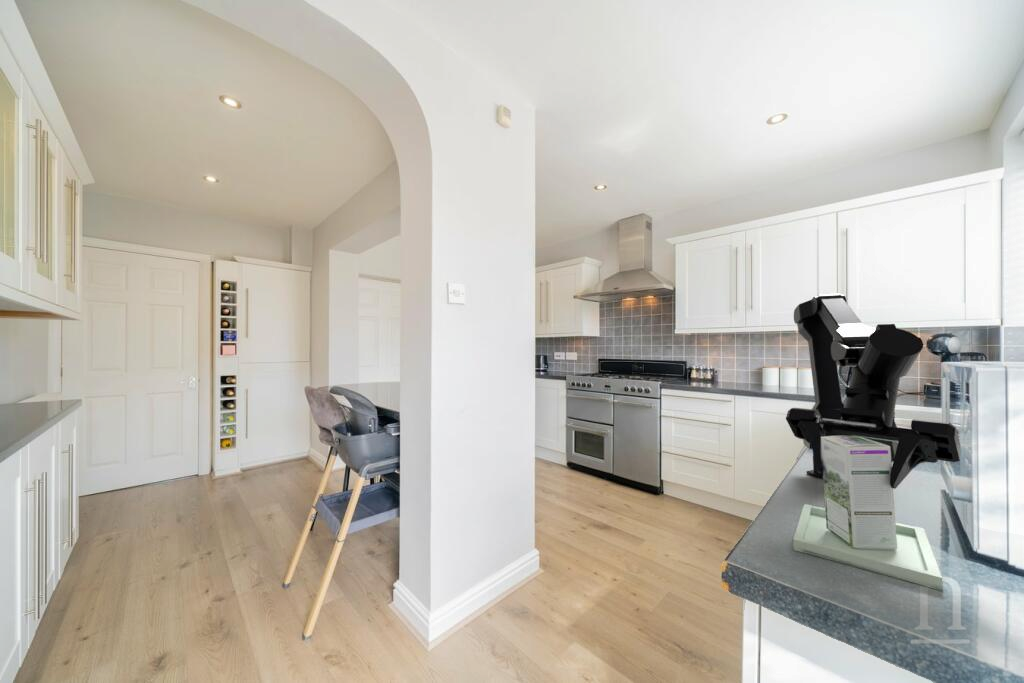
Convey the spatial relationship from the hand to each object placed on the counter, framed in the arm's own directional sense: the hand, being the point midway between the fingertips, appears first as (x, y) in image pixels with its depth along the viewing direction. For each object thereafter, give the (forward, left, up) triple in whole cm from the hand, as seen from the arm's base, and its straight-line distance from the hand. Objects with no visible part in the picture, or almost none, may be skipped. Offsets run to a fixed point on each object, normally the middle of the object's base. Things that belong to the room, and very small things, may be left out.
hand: (853, 478), depth 54 cm
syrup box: (-1, 0, -9) cm, 9 cm away
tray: (-1, 0, -10) cm, 10 cm away
